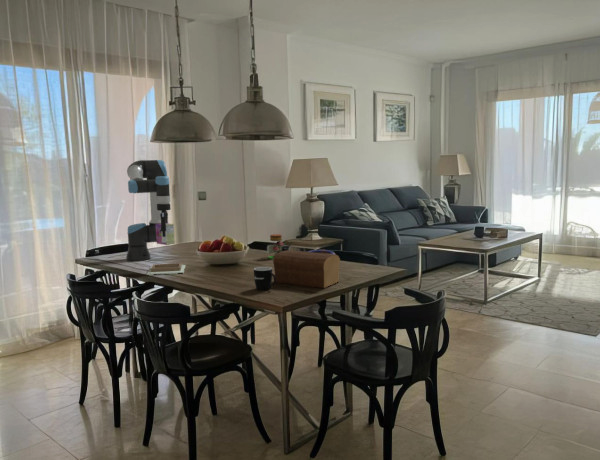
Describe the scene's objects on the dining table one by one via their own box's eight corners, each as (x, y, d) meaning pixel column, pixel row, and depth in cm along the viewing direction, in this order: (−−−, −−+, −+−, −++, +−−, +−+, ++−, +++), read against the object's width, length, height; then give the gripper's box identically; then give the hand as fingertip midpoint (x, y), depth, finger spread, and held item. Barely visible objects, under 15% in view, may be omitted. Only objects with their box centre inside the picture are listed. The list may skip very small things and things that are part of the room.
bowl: (312, 273, 290) (312, 255, 288) (300, 267, 306) (299, 250, 305) (341, 270, 297) (341, 252, 295) (327, 264, 313) (327, 248, 312)
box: (156, 243, 303) (155, 223, 301) (164, 242, 307) (163, 222, 306) (166, 245, 296) (165, 224, 294) (174, 244, 300) (173, 223, 299)
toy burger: (290, 257, 339) (289, 234, 337) (273, 260, 332) (272, 236, 330) (280, 255, 348) (279, 233, 347) (264, 257, 341) (263, 234, 340)
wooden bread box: (291, 276, 283) (291, 247, 281) (340, 282, 267) (340, 251, 265) (272, 283, 268) (272, 252, 266) (323, 289, 252) (323, 256, 250)
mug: (250, 289, 254) (249, 269, 253) (261, 286, 261) (261, 266, 260) (270, 292, 247) (269, 271, 246) (281, 288, 255) (280, 268, 253)
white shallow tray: (151, 268, 313) (151, 263, 312) (185, 266, 316) (185, 261, 316) (146, 275, 291) (146, 270, 291) (183, 273, 294) (183, 268, 294)
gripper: (158, 202, 310) (160, 238, 312) (154, 205, 286) (156, 244, 289) (171, 201, 311) (173, 237, 314) (168, 204, 288) (170, 243, 290)
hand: (165, 240), depth 301 cm, fingers closed on box, 11 cm apart
